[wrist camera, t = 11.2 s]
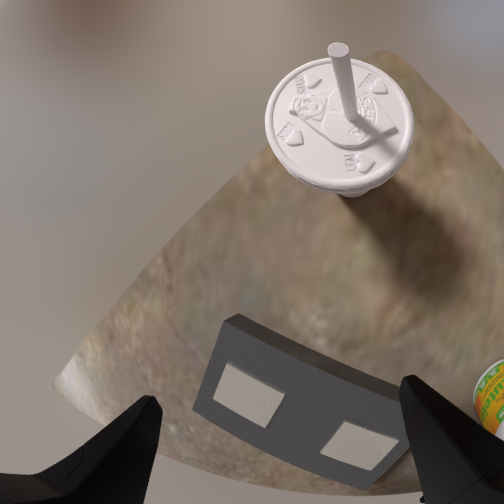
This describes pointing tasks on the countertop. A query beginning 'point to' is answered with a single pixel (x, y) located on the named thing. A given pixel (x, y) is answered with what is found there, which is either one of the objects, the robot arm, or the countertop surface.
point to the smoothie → (340, 124)
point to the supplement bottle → (491, 399)
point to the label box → (301, 405)
